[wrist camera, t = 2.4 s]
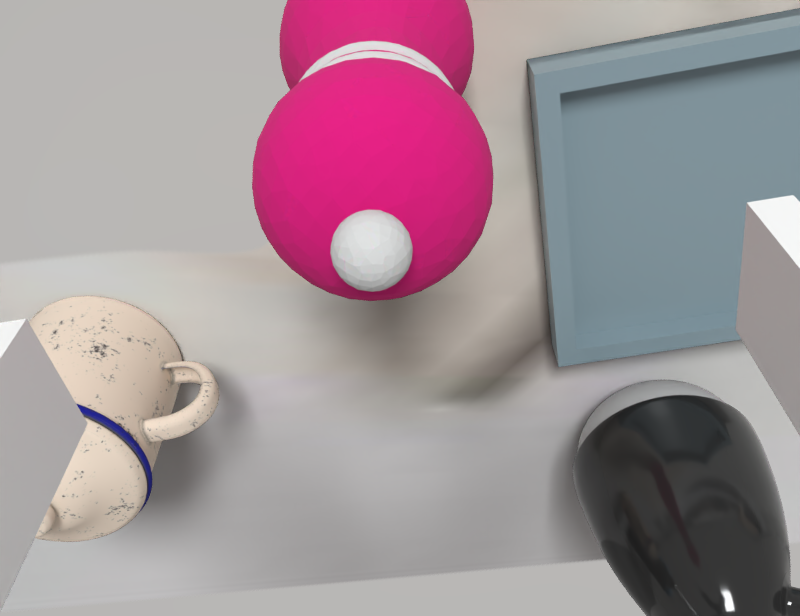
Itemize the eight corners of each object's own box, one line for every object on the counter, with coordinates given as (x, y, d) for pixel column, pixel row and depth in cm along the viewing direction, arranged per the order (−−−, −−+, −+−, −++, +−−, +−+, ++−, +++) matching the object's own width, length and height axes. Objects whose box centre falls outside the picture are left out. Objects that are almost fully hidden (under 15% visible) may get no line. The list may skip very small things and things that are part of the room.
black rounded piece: (741, 453, 48) (867, 694, 35) (577, 491, 49) (642, 733, 37) (729, 330, 42) (873, 566, 30) (544, 378, 44) (607, 619, 31)
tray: (551, 344, 42) (558, 367, 41) (526, 59, 33) (534, 74, 32) (851, 297, 41) (870, 320, 39) (910, -13, 32) (939, -1, 30)
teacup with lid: (68, 428, 45) (-15, 602, 36) (-12, 306, 40) (-134, 473, 31) (260, 392, 44) (226, 563, 35) (202, 262, 39) (144, 421, 29)
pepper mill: (497, 28, 32) (611, 292, 16) (367, 130, 35) (353, 448, 19) (390, -123, 29) (397, 17, 13) (255, 2, 32) (117, 252, 15)
